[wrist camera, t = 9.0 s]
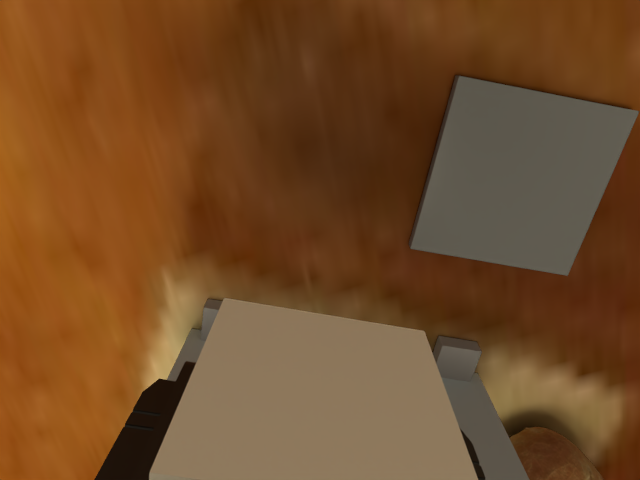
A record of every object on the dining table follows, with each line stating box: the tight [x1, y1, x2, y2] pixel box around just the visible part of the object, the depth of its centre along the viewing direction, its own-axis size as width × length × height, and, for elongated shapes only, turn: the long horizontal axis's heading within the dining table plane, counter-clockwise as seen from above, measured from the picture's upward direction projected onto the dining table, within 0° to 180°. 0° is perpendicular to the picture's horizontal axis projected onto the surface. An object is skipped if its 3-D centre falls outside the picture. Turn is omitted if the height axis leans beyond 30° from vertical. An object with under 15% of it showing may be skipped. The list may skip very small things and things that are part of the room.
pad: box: [409, 75, 639, 276], centre depth 24 cm, size 9×9×1 cm
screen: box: [167, 299, 529, 480], centre depth 22 cm, size 18×6×14 cm, turn 80°
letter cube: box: [149, 298, 478, 480], centre depth 10 cm, size 5×5×5 cm
